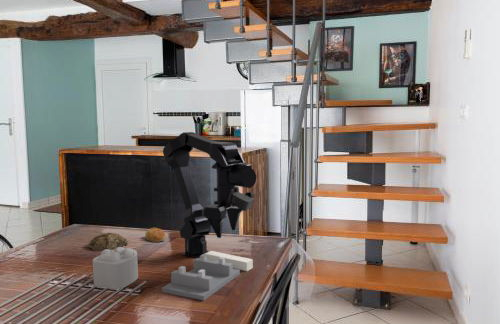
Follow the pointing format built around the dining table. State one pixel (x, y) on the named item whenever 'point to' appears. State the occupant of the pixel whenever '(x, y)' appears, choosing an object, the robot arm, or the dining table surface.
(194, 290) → the grey pegged plate
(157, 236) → the pastry
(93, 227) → the dining table surface
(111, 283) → the white lego brick
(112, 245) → the mottled brown rock
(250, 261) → the clay strip
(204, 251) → the robot arm
